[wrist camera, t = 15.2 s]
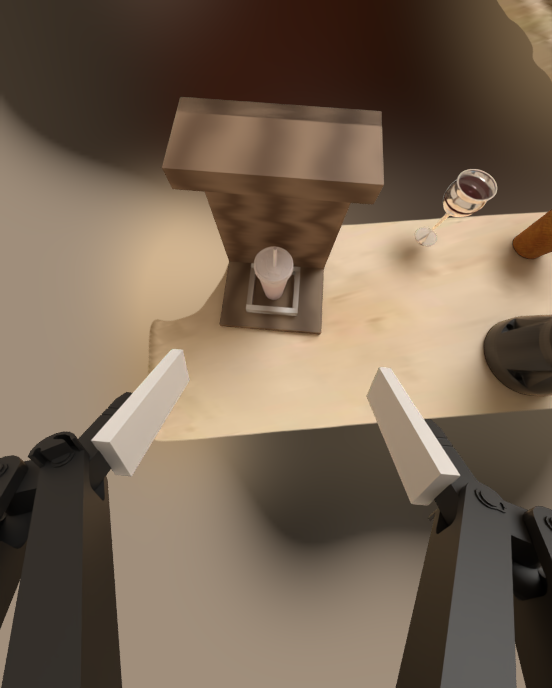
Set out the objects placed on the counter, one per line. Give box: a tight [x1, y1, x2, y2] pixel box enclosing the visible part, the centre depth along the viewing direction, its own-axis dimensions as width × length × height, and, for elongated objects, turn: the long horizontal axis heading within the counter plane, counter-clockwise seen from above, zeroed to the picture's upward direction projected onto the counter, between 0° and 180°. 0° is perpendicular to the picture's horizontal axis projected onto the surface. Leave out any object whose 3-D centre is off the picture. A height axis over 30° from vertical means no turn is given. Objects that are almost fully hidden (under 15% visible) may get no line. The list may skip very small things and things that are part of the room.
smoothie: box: [254, 246, 293, 300], centre depth 35 cm, size 6×6×14 cm
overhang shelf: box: [162, 97, 384, 334], centre depth 31 cm, size 20×16×25 cm
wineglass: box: [415, 169, 497, 246], centre depth 41 cm, size 7×7×12 cm
